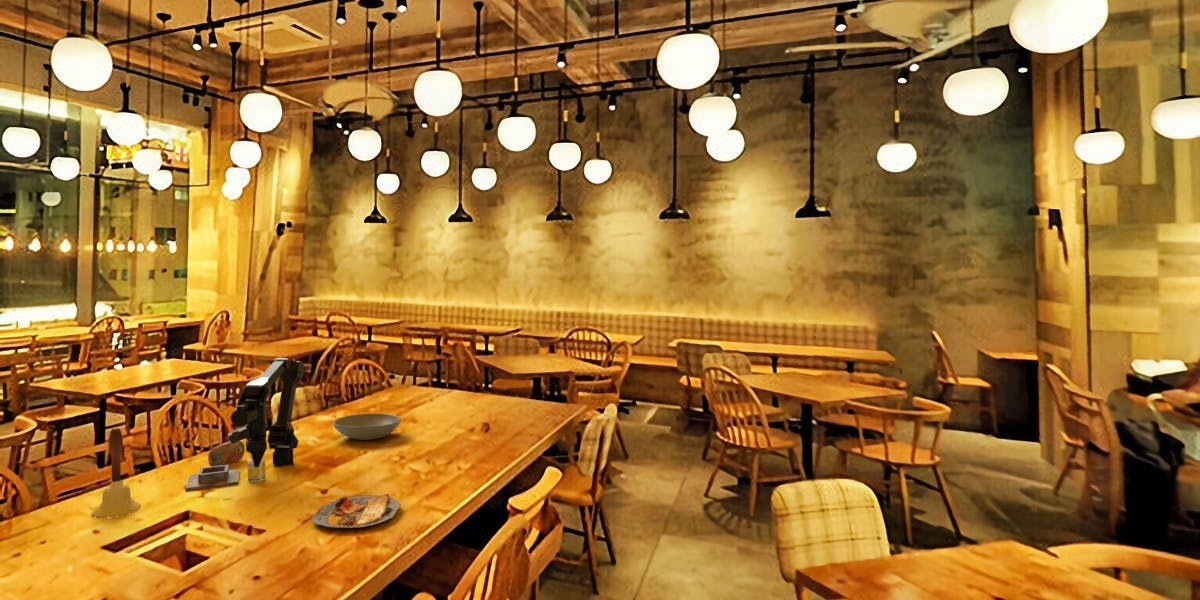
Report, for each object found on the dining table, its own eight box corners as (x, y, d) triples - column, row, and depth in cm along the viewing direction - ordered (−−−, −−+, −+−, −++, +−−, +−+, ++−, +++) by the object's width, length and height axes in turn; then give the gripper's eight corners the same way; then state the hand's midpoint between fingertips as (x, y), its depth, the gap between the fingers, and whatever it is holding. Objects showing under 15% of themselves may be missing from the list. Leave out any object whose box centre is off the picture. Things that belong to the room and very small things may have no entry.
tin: (213, 471, 224) (213, 448, 224) (206, 470, 225) (206, 447, 225) (245, 459, 239) (245, 438, 239) (238, 458, 240) (238, 437, 239)
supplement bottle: (260, 476, 220) (260, 449, 219) (268, 479, 217) (268, 452, 216) (244, 480, 215) (244, 452, 215) (252, 483, 212) (252, 455, 212)
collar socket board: (239, 471, 224) (239, 460, 224) (238, 484, 211) (238, 472, 211) (190, 477, 217) (190, 466, 217) (185, 491, 204) (185, 479, 204)
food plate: (332, 500, 198) (332, 489, 197) (406, 500, 200) (407, 490, 199) (301, 535, 173) (301, 523, 173) (386, 535, 175) (386, 523, 175)
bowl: (388, 447, 260) (388, 427, 259) (322, 445, 260) (322, 426, 260) (409, 430, 287) (409, 413, 287) (349, 429, 287) (349, 411, 287)
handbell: (83, 521, 179) (82, 435, 178) (98, 506, 190) (97, 425, 189) (135, 515, 183) (134, 432, 182) (146, 501, 195) (146, 422, 194)
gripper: (230, 416, 219) (231, 459, 220) (228, 428, 203) (228, 474, 204) (266, 413, 225) (266, 455, 225) (266, 424, 208) (267, 470, 209)
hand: (256, 463), depth 216 cm, fingers open, 9 cm apart
